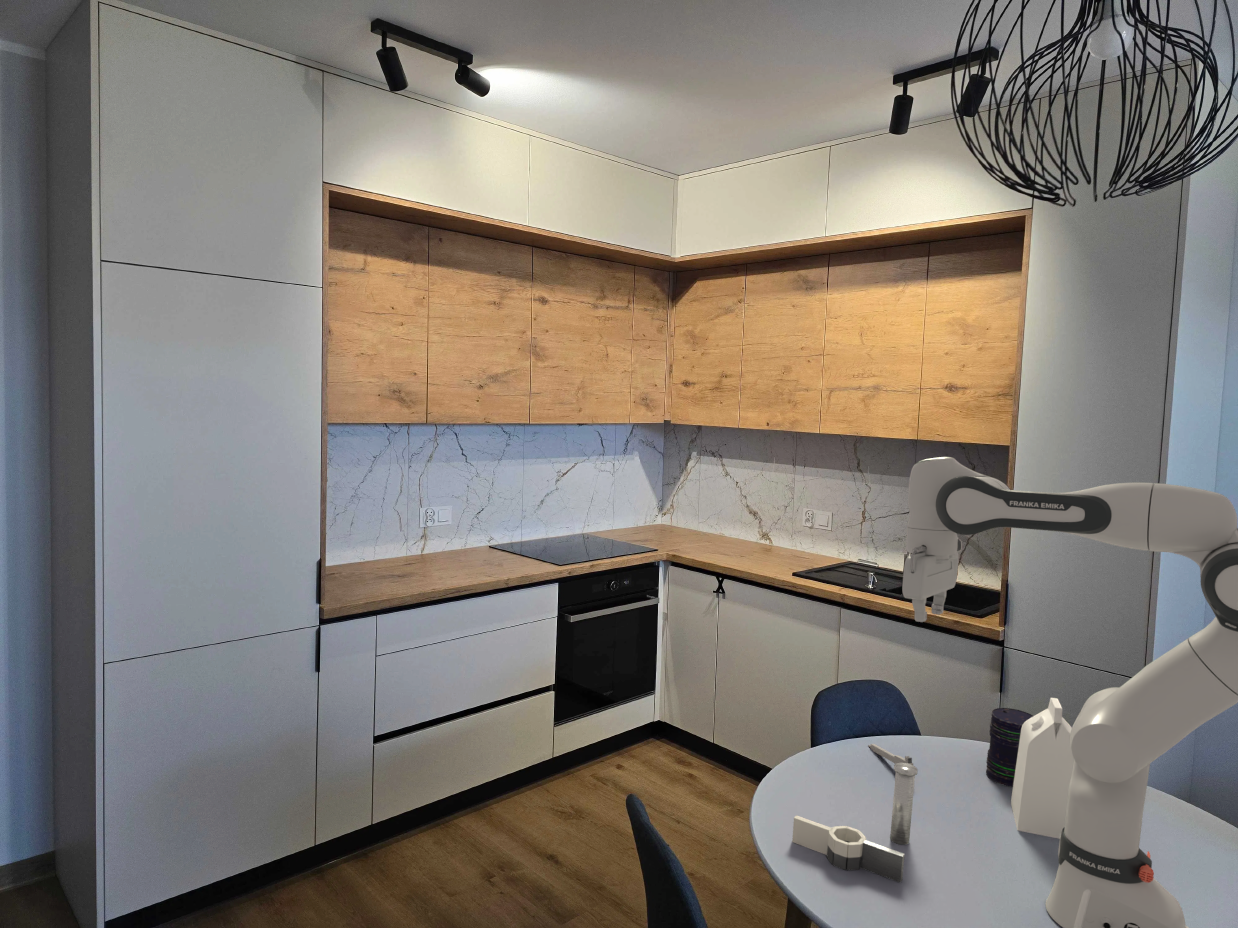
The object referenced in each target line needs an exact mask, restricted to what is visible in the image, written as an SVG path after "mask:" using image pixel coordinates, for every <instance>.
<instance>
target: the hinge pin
mask: <svg viewBox="0 0 1238 928" xmlns="http://www.w3.org/2000/svg"><path fill="white" fill-rule="evenodd" d="M893 770H894V772H895V774H894V775H895V777H894V778H895V779H894V787H893V788H894V789H893V800H892V801H893V802H892V813H891V823H890V825H891V826H890V835H889V838H890V841H891V842H892V843H894V844H896V845H898V846H899V845H901V846H907V845H908V844H910V836H911V826H912V825H911V824H912V814H913V802H914V790H915V789H914V788H915V777H916V775H918V771H919V769H918V768H917V767H916V766H915V765H914V764H913V765H911V764H908V763H896V764H895V763H894V764H893Z"/></svg>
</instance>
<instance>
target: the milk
mask: <svg viewBox="0 0 1238 928" xmlns="http://www.w3.org/2000/svg"><path fill="white" fill-rule="evenodd" d="M1071 729H1072V726H1071V725H1070V724H1069V722H1068V721H1066V719H1065V718H1064V717H1063V707H1062V704H1061V703H1060V700H1059V698H1056V697H1050V698H1049V702H1048V706H1047V708H1045V709H1044V710H1042V711H1040V712H1039V713H1037V714H1035V715H1033V717H1031V718H1030V719H1028V720H1027V721H1025V722H1024V724H1023V725H1022V728H1021V734H1020V741H1019V748H1018V755H1017V762H1016V770H1015V777H1014V784H1013V787H1012V791H1011V792H1012V793H1011V798H1010V799H1011V800H1010V806H1011V811H1012V814H1013V818H1014V823H1015V826H1016V830H1017V831H1018V832H1023V833H1024V832H1025V833H1029V834H1034V835H1038V836H1043V837H1049V838H1053V839H1058V840H1060V835H1061V832H1062V829H1063V828H1064V827H1065V819H1066V810H1067V801H1068V792H1069V785H1070V780H1071V775H1072V770H1073V765H1074V757H1073V755H1072V750H1071V744H1070V733H1071Z"/></svg>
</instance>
